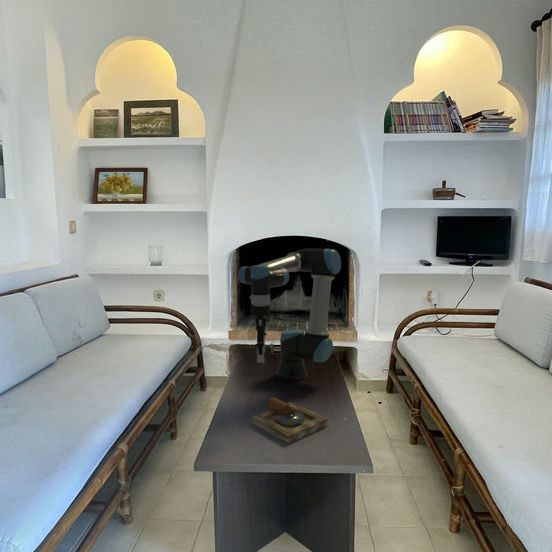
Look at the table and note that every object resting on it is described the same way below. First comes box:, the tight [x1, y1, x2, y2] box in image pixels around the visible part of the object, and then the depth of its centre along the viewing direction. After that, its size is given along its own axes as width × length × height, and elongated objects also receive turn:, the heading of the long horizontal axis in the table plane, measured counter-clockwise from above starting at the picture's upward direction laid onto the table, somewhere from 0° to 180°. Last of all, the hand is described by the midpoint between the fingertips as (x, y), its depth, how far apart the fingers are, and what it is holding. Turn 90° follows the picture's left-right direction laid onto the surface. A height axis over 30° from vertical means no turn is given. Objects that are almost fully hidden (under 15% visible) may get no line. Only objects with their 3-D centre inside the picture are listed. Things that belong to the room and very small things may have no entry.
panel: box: [252, 401, 329, 444], centre depth 157 cm, size 20×20×3 cm
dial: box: [268, 396, 305, 427], centre depth 159 cm, size 16×11×5 cm, turn 41°
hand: (261, 356), depth 166 cm, fingers open, 13 cm apart
